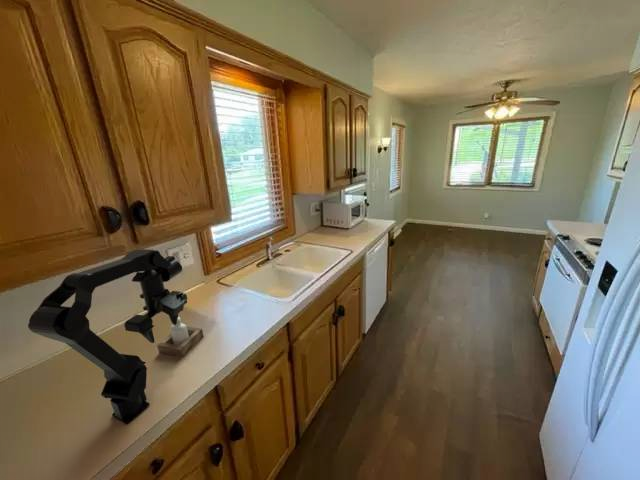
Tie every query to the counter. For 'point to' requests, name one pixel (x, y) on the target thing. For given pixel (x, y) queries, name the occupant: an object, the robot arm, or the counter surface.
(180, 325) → the eye dropper bottle
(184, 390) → the counter surface
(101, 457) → the counter surface
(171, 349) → the socket block
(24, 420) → the counter surface
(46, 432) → the counter surface
